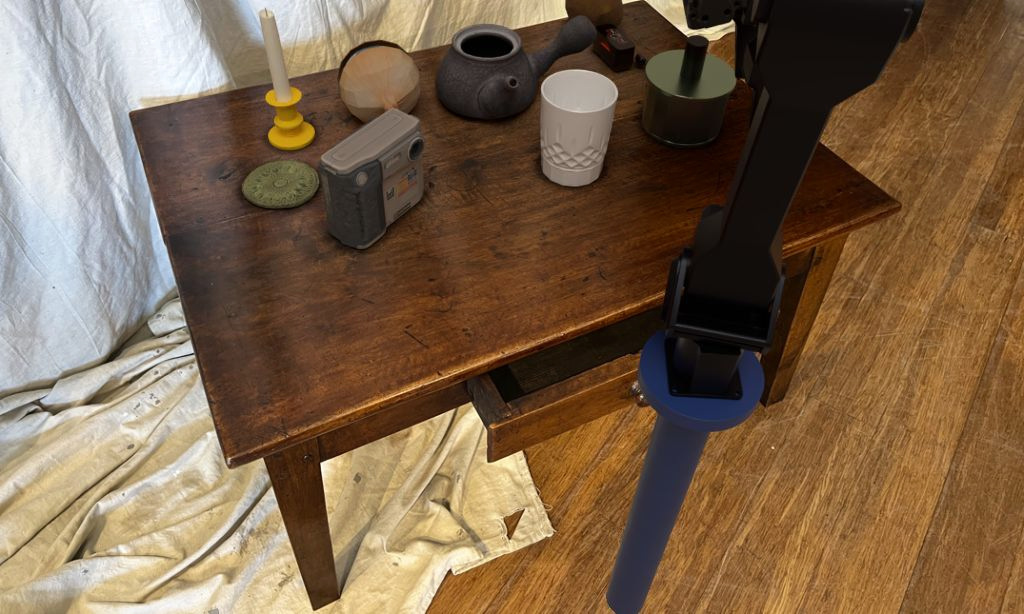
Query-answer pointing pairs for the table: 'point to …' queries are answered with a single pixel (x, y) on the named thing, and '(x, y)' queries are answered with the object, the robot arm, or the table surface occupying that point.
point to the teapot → (501, 67)
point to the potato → (596, 11)
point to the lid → (691, 73)
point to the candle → (283, 93)
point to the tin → (682, 119)
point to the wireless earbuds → (616, 48)
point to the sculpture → (378, 79)
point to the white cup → (575, 125)
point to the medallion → (281, 184)
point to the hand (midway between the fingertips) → (746, 103)
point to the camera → (373, 177)
